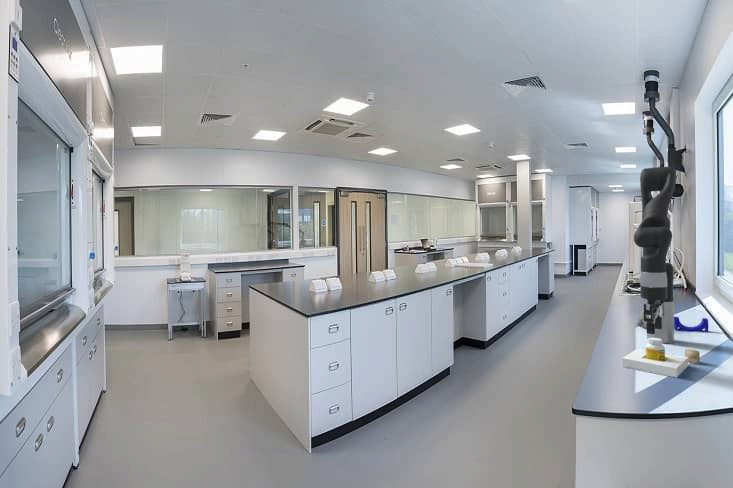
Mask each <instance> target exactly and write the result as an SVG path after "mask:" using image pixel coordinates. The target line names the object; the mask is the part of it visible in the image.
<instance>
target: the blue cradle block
mask: <svg viewBox="0 0 733 488" xmlns="http://www.w3.org/2000/svg"><path fill="white" fill-rule="evenodd" d="M674 331H675V332H687V333H688V332H689V333H692V332H696V333H697V332H699V333H709V319H708V318H707V317H706V318H705V317H703V318H702V319H701V322H700V323H699V324H698V325H695V326H687V325H684V324H683V323H681V321H680V318H679V316H676V315H674Z"/></svg>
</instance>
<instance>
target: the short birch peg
mask: <svg viewBox="0 0 733 488" xmlns="http://www.w3.org/2000/svg"><path fill="white" fill-rule="evenodd" d="M700 354H701V353H700V351H699V350H696V349H691V348H690V349H689V348H685V349H684V357H688V362H689V363H688V364H693V365H699V364H701V363H700V361H701V360H700V358H701V356H700Z"/></svg>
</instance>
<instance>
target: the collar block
mask: <svg viewBox="0 0 733 488" xmlns="http://www.w3.org/2000/svg"><path fill="white" fill-rule="evenodd" d="M622 367H623V368H626V369H631V370H636V371H642V372H646V371H647V373H651V372H652V373H651V374H655V375H661V376H667V377H671V378H678V377H679V376H680V375H681V374H682V373H683V372H684V371H685V370H686V369H687V368H688V367H689V363H688V357H685V356H683V355H682V356H681V355H675V354H670V353H666V352H665V362H661V361H656V360H650V359H646V349H641V348H636V349H635V350H633V351H632V352H630V353H629V354H626V355H625V356H624V357H622Z"/></svg>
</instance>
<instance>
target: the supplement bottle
mask: <svg viewBox="0 0 733 488" xmlns="http://www.w3.org/2000/svg"><path fill="white" fill-rule="evenodd" d="M645 350H646V359H650V360H656V361H661V362H665V353H666V348H665V346H664V345H663V343H662V339H659V338H648V339H647V343H646V345H645Z"/></svg>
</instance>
